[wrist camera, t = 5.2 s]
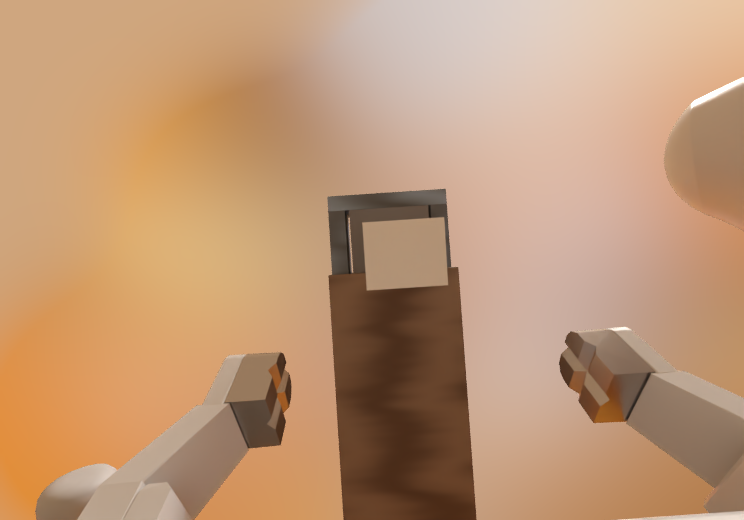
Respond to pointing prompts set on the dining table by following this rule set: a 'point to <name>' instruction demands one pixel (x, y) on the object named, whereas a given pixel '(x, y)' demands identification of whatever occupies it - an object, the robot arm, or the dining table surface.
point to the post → (399, 383)
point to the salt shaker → (71, 492)
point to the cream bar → (399, 247)
